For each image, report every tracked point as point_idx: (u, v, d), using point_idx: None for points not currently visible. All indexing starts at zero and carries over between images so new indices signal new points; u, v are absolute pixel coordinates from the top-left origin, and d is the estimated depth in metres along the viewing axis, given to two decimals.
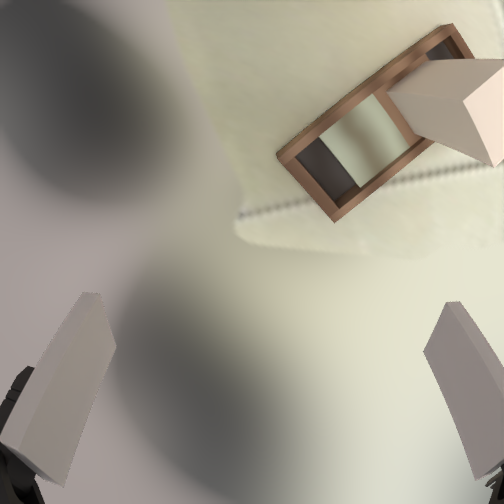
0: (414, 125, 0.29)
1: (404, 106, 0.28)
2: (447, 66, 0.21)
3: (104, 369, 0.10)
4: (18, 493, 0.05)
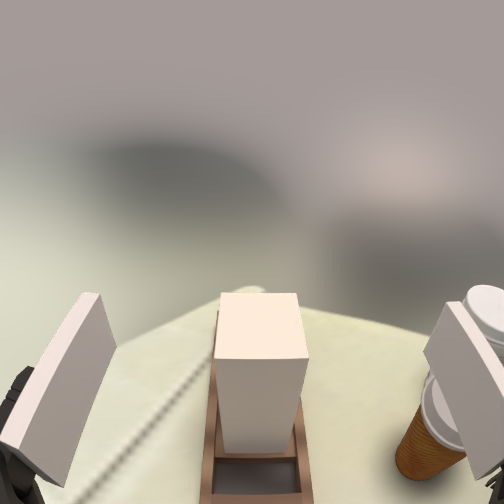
0: None
1: None
2: None
3: (104, 369, 0.10)
4: (18, 493, 0.05)
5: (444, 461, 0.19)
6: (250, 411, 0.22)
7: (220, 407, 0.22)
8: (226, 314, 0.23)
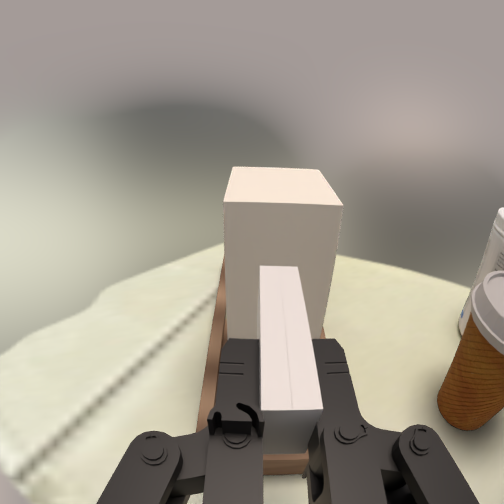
0: None
1: None
2: None
3: None
4: None
5: None
6: None
7: (227, 298, 0.18)
8: (239, 177, 0.19)
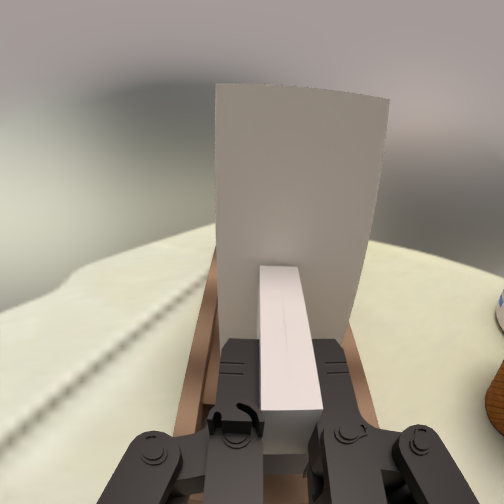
0: None
1: None
2: None
3: None
4: None
5: None
6: (276, 257, 0.13)
7: (218, 242, 0.12)
8: None
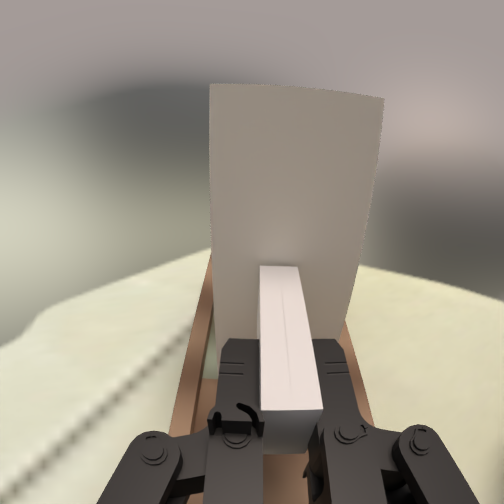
0: None
1: None
2: None
3: None
4: None
5: None
6: (271, 257, 0.13)
7: (213, 242, 0.12)
8: None
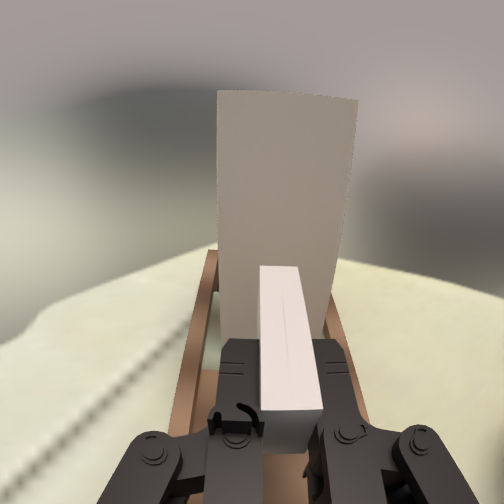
0: None
1: None
2: None
3: None
4: None
5: None
6: (267, 231, 0.15)
7: (219, 219, 0.15)
8: None
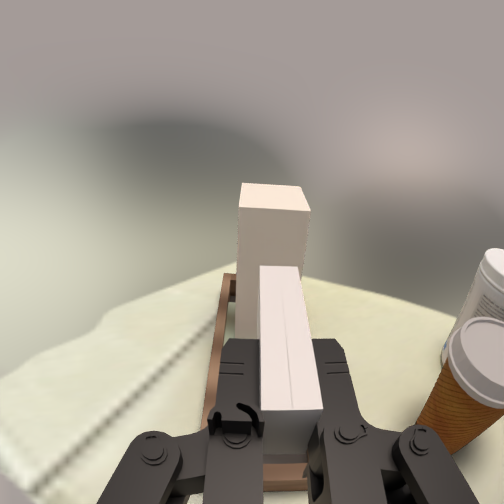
0: None
1: None
2: None
3: None
4: None
5: (474, 424, 0.17)
6: None
7: (237, 268, 0.29)
8: (246, 191, 0.30)
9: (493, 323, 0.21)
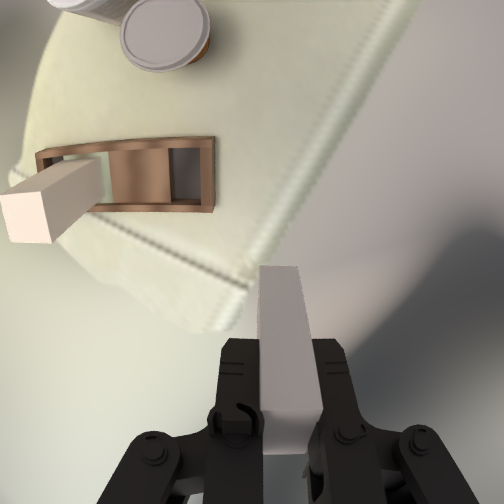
0: None
1: None
2: (67, 170, 0.34)
3: None
4: None
5: (203, 47, 0.29)
6: (74, 201, 0.34)
7: (75, 220, 0.35)
8: (24, 238, 0.29)
9: (128, 19, 0.23)
